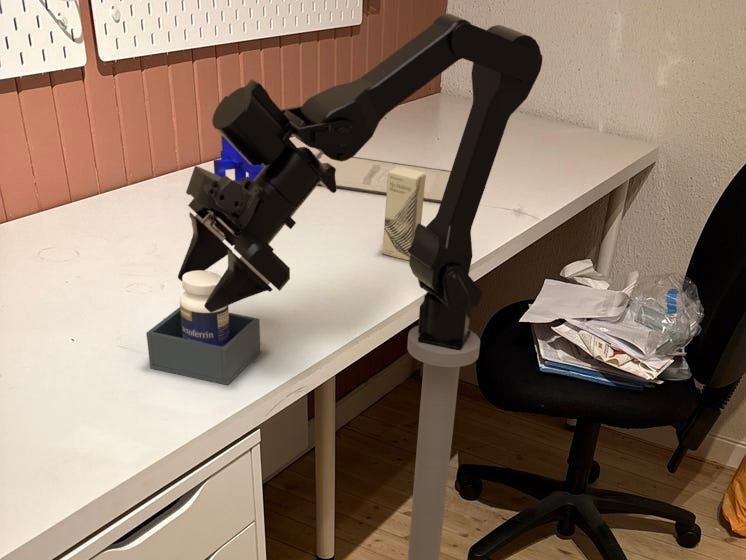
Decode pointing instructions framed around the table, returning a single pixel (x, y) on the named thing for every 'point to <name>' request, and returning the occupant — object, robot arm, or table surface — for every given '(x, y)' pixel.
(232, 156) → the figurine
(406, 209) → the box
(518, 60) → the robot arm
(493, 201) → the table surface
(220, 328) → the pill bottle
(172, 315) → the bin
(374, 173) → the picture frame
